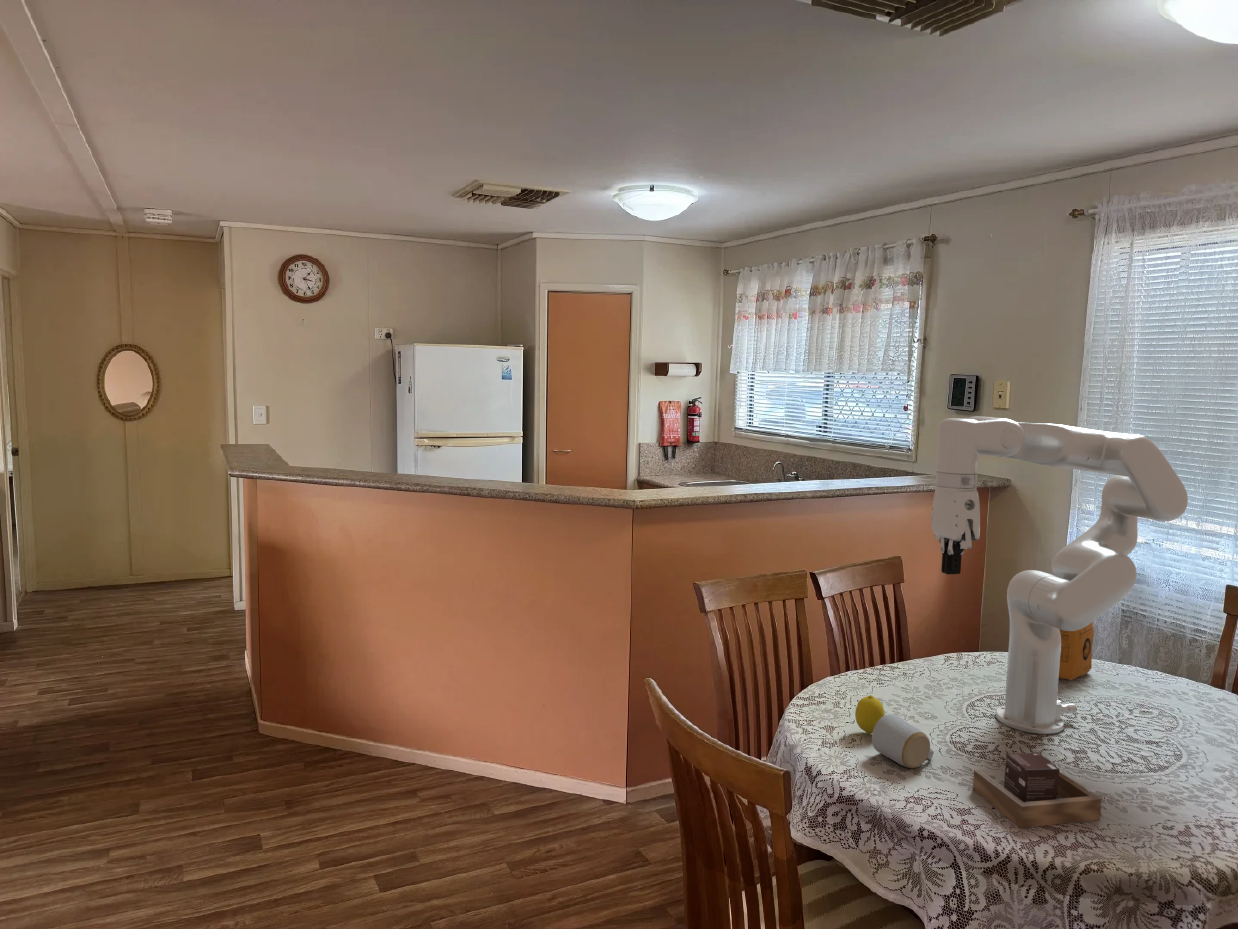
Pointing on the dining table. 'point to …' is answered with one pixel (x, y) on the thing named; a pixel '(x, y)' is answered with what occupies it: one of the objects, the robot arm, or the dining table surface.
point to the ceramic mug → (901, 741)
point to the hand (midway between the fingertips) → (950, 573)
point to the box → (1031, 777)
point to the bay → (1041, 803)
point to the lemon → (868, 713)
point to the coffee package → (1076, 652)
